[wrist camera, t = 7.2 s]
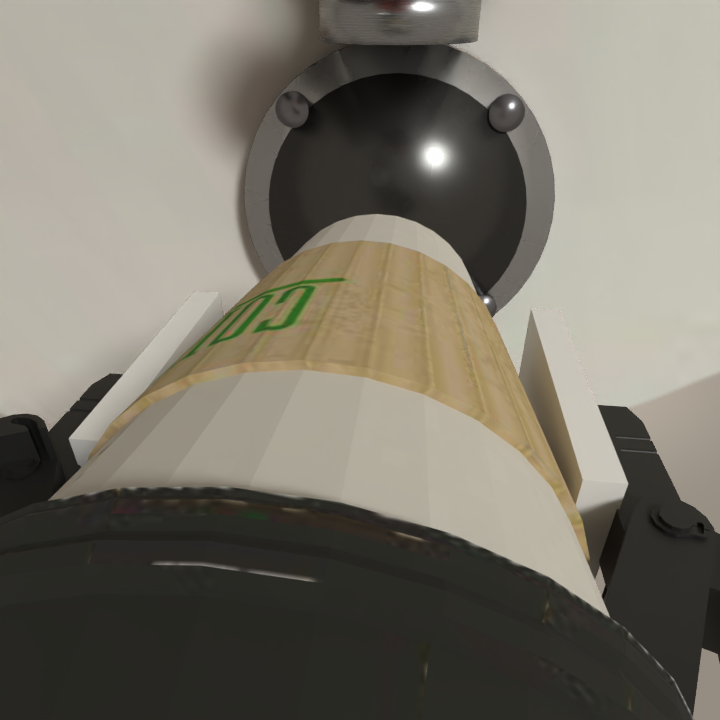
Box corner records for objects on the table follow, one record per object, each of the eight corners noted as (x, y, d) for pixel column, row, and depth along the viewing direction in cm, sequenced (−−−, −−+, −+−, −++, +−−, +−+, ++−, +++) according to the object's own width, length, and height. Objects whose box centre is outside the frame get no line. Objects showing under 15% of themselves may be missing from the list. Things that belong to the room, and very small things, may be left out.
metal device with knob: (218, -153, 21) (99, -235, 13) (612, -165, 19) (718, -265, 12) (268, 323, 31) (216, 420, 24) (523, 337, 30) (550, 445, 23)
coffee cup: (184, 187, 17) (-558, 718, 4) (520, 113, 15) (999, 742, 2) (280, 438, 22) (64, 1029, 9) (543, 410, 20) (731, 1131, 7)
